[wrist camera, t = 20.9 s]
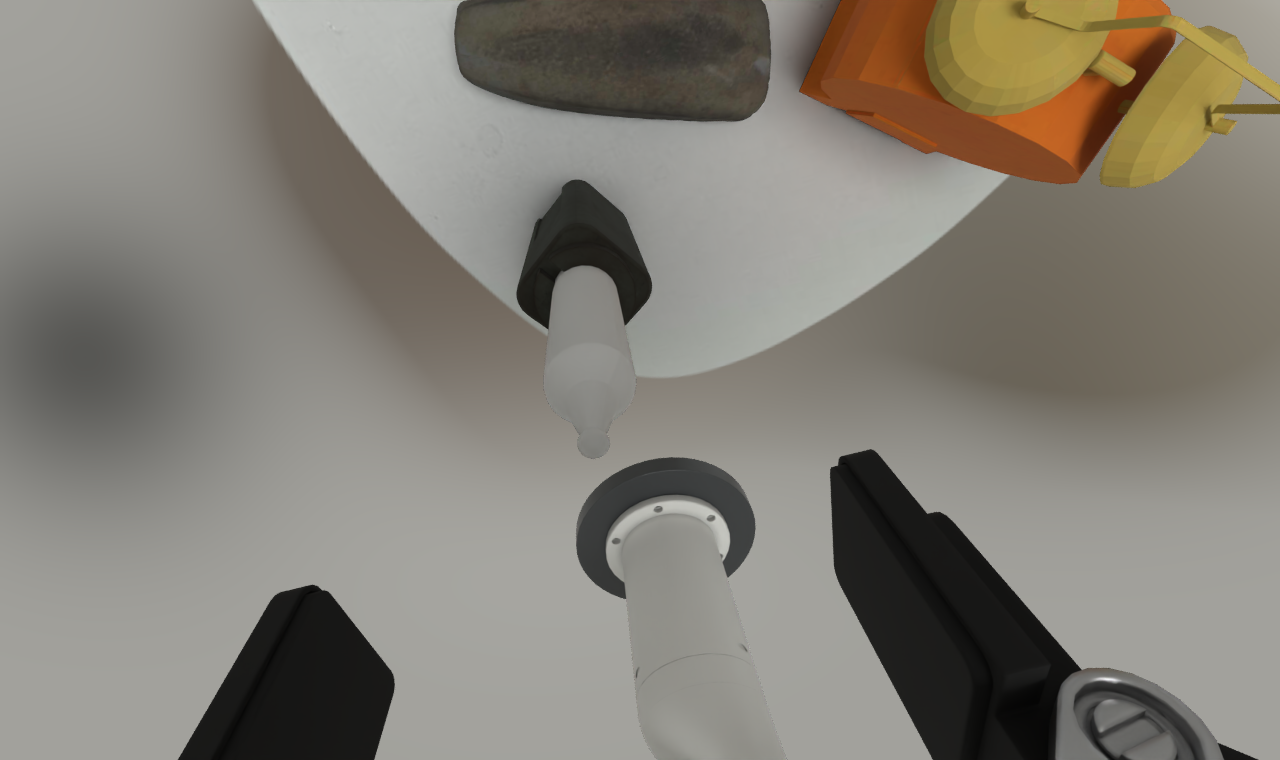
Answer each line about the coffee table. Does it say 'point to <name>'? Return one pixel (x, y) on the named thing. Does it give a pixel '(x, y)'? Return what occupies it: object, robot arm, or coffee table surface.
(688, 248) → the coffee table surface
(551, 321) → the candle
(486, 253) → the coffee table surface
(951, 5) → the alarm clock
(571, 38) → the decorative stone
